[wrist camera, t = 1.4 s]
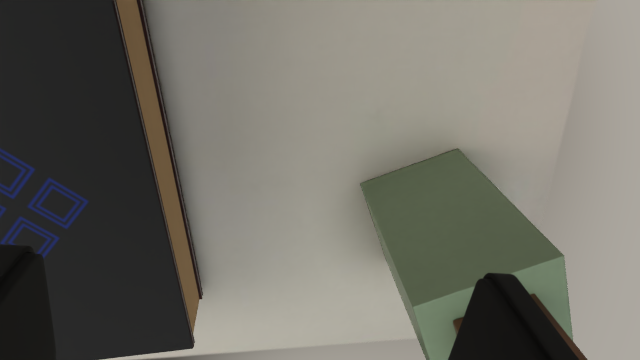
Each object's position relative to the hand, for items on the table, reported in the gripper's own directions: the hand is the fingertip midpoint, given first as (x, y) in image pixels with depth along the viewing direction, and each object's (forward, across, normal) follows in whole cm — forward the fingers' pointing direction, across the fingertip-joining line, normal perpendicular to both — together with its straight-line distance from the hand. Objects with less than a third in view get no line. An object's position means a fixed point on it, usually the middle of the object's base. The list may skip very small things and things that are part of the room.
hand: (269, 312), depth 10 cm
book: (+24, +14, +8) cm, 29 cm away
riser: (+24, -13, +10) cm, 29 cm away
